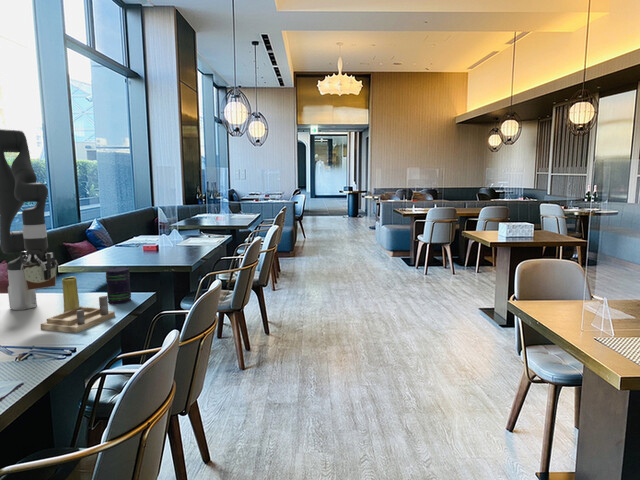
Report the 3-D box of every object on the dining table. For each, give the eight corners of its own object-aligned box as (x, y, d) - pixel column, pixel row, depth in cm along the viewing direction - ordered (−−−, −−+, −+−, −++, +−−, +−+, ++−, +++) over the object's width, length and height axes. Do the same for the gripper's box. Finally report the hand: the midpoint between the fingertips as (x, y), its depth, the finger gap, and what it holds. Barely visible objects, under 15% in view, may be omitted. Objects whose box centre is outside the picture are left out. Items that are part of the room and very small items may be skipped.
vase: (83, 309, 192) (80, 276, 189) (74, 314, 185) (71, 280, 183) (69, 309, 192) (67, 276, 190) (60, 313, 186) (57, 279, 184)
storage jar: (135, 301, 204) (133, 268, 202) (113, 305, 197) (111, 272, 195) (125, 297, 211) (123, 265, 208) (103, 301, 203) (101, 269, 201)
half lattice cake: (54, 282, 179) (52, 257, 178) (59, 285, 175) (58, 260, 173) (18, 288, 170) (16, 262, 169) (22, 291, 166) (20, 264, 165)
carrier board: (40, 329, 167) (38, 305, 166) (82, 313, 186) (80, 292, 185) (76, 332, 163) (74, 308, 162) (114, 316, 182) (113, 294, 181)
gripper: (11, 236, 168) (15, 280, 170) (42, 238, 164) (46, 282, 166) (28, 234, 175) (32, 275, 177) (59, 235, 171) (62, 278, 174)
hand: (39, 278), depth 172 cm, fingers closed on half lattice cake, 7 cm apart
